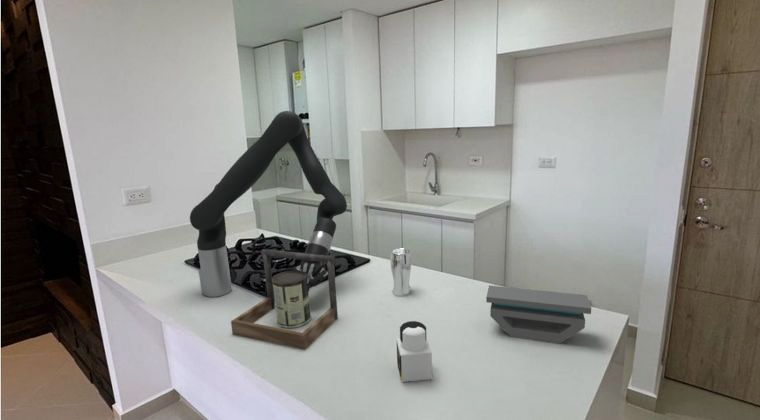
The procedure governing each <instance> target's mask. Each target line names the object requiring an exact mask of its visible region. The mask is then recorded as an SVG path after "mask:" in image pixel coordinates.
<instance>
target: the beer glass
mask: <svg viewBox="0 0 760 420" xmlns="http://www.w3.org/2000/svg"><path fill="white" fill-rule="evenodd" d="M411 257H412V256H411V250H410V249H408V248H405V247H404V248H403V247H401V248H400V247H397V248H393V249H391V250H390V270H391V275H392V279H393V287H392V294H393V295H395V296H398V297H406V296H409V295H410V294H411V287H410V276H411V270H412V258H411Z"/></svg>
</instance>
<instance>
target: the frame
mask: <svg viewBox="0 0 760 420" xmlns="http://www.w3.org/2000/svg"><path fill="white" fill-rule="evenodd" d="M260 253H261V256H262V259H263V267H264V268H263V269H264V276H265V287H266V295H267V297H266V298H264V299H263V300H261V301H260V302H258V303H257V304H255V305H254V306H252V307H251V308H249V309H248V310H246V311H245V312H243V313H242V314H240V315H239V316H236V317H235V318H233V320H231V321H230V324H231V325H230V326H231V332H232V335H235V336H239V337H244V338H249V339H254V340H258V341H262V342H263V341H264V342H267V343H268V342H269V343H273V344H277V345H281V346H288V347H291V348H295V349H299V350H306V349H307V348H308V347H309V346H310V345H311V344H312V343H313V342H314V341H316V339H317V338H318V337H319V336H321V335H322V334H323V333H324V332H325V330H326V329H328V327H330V326H331V325H332V324H333V323H334V322H335V321H336V320H338V319H339V316H338V300H337V289H336V287H337V285H336V274H335V273H336V271H335V261H336V257H335V256H334V255H333V256H332V255H328V256H325V255H316V254H306V253H305V252H297V251H296V252H294V251H284V250H278V249H277V250H275V249H266V248H263V249H262V250H261V252H260ZM271 257H274V258H281V259H292V260H301V261H303V260H308V261H317V262H326V263H325V264H326V266H327V272H328V276H327V279H328V280H327V281H328V293H329V294H328V295H329V308H328V309H327V310H326V311H325V312H324V313H322V315H320V316H319V317H318V318H317V319H316V320H315V321H314V322H312V323H311V324H310V325H309V326H308V327H307V328H306V329H305V330H304V331H302V332H300V331H296V330H290V329H287V328H282V327H276V326H269V325H264V324H260V323H255V322H256V321H257V320H259V319H260V318H262V317H263V316H265V315H266V314H268V313H269V312H270V311H271V310H274V309H276V307H275V298H274V289H273V282H272V278H273V273H272V266H271V265H272V264H271Z"/></svg>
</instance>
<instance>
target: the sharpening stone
mask: <svg viewBox="0 0 760 420" xmlns="http://www.w3.org/2000/svg"><path fill="white" fill-rule="evenodd" d="M486 292H487V293H486V300H485V301H486V303H491V304H490V309H489V310H490V318H492V319H493V320H494V321H495V322H496V323H497V325H499V327H500V328H501V329H503V330H504V332H505V333H506V334H508V335H509V336H510V338H515V339H521V340H526V341H527V340H528V341H535V342H541V343H542V342H543V343H549V344H550V343H551V344H556V345H559V344H561V343H563V342H564V341H566V340H568V339H569V338H571V337H572V336H574V335H576V334H578V333H579V332H581V331H582V330H584V329H585V327H586V317H585V314H586V315H591V314H592V306H591V303H590V301H589V298H588V297H589V296H588V295H587V294H582V293H581V294H580V293H579V294H578V293H570V292H569V293H568V292H560V291H559V292H558V291H549V290H540V289H530V288H528V289H527V288H519V287H508V286H499V285H488V288H487V291H486Z"/></svg>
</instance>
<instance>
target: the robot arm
mask: <svg viewBox="0 0 760 420" xmlns="http://www.w3.org/2000/svg"><path fill="white" fill-rule="evenodd" d="M287 144H288V145H289V146H290V147H291V149H292V151H293V153H294V155H295V156H296V158H297V161H298V163H299V166H300V167H301V170H302V173H303V175H304V177H305V179H306V181H307V183H308V184H309V186H310V188H311V190H312V191H313V193H314V194H316V195H320V196H323V197H324V198H323V199H322V200H321V201H320V203H319V205H318V206H317V211H316V212H317V213H316V223H315V226H314V229H313V231H312V234H311V236H310V237H309V240H308V243H307V245H306V248H305V251H304V253H306V254H316V255H325V256H329V253H330V250H331V247H332V242H333V238H334V235H335V232H336V229H337V223H336V222H335V220H334V217H336V216H340V215H342V214H345V212H346V210H347V207H348V205H347V203H348V202H347V200H346V198H345V196H344V195H343V193H342V192H341V191H340V190H339V189H338V188H337V187H336V185H335V184H333V183H332V181H331V179H330V178H329V176H328V173H327V172H326V170H325V168H324V166H323V164H322V163H321V162H320V159H319V157H318V156H317V154H316V152H315V151H314V149H313V147H312V145H311V143H310V140H309V138H308V135H307V133H306V131H305V127H304V123H303V120H302V118H301V117H300V116H299V115H298V114H297V113H295V112H294V111H291V110H283V111H281V112H278V113H277V114H276V115H275V117H274V118H273V119H272V121H271V122H270V123H269V125H268V127H267V128H266V129H265V131H264V132H263V134H262V135H261V136H260V137H259V138H258V139H257V140H256V141H255V142H254V143H253V144H251V146H249V148H248V149H246V151H244V153H243V154H242V155H240V157H239V158H238V159H237V160H236V161H235V162H234V164H233V165H232V166H231V167H230V168H229V169H228V171H227V172H226V173H225V174H224V176H223V177H222V178H221V179H220V180H219V182H218V184H217V185H216V186H215V187H214V189H213V190H212V191H211V192H210V193H209V194H208V195H207V196H206V197H205V198H203V199H202V200H201V202H199V203H198V204H197V205H195V206H194V207H193V208H192V210H191V211H190V215H189V221H190V224H191V226H192V227H193V228H194V229H196V230H198V237H197V241H196V244H197V245H196V246H197V252H198V259H199V265H200V268H198V276H199V277H198V278H199V284H200V288H201V289H200V290H201V295H204V296H205V297H208V298H216V297H222V296H224V295H227V294H229V293H231V292H232V290H233V289H232V280H231V273H230V266H229V258H228V257H229V256H228V250H227V244H226V238H227V229H226V228H227V227H226V220H225V219H226V218H225V212H226V211H227V210H228V208H229V207H230V206H231V205H232V204H233V203H234V202H236V201H237V200H238V199H240V197H242V196H243V195H244V194H245V193H246V192H248V191H249V190H250V189H251V188H252V187H253V186H254V185H255V184H256V183H257V182H258V180H259V179H260V178H261V177H262V176H263V174H264V173H265V172H266V171H267V170H268V168H269V166H270V165H271V163H272V161H273V160H274V158H275V156H276V155H277V154H278V153H279V152H280V151H281V150H282V149H284V147H285V146H286V145H287ZM299 264H300V265H297V266H295V265H294V266H293V267H292V270H298V271H304V272H306V273H307V283H308V293H309V292H310V289H311V287H317V286H318V285H319V284H320V283H322V282H323V281H324V280H325V279H326V278H328V270H326V269H325V268H326V267H325V264H327V263H326V262H317V261H308V260H301V262H300V263H299Z"/></svg>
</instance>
